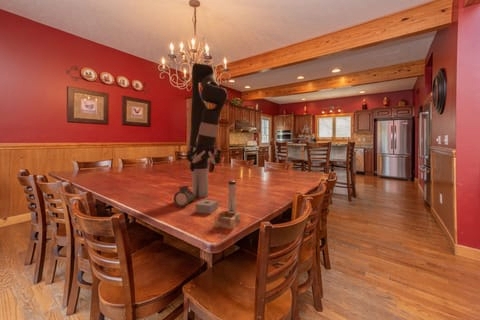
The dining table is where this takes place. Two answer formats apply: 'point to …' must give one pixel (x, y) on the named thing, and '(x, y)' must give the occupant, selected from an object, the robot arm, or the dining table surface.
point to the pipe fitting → (183, 196)
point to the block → (206, 206)
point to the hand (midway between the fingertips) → (201, 171)
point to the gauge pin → (232, 196)
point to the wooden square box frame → (227, 219)
